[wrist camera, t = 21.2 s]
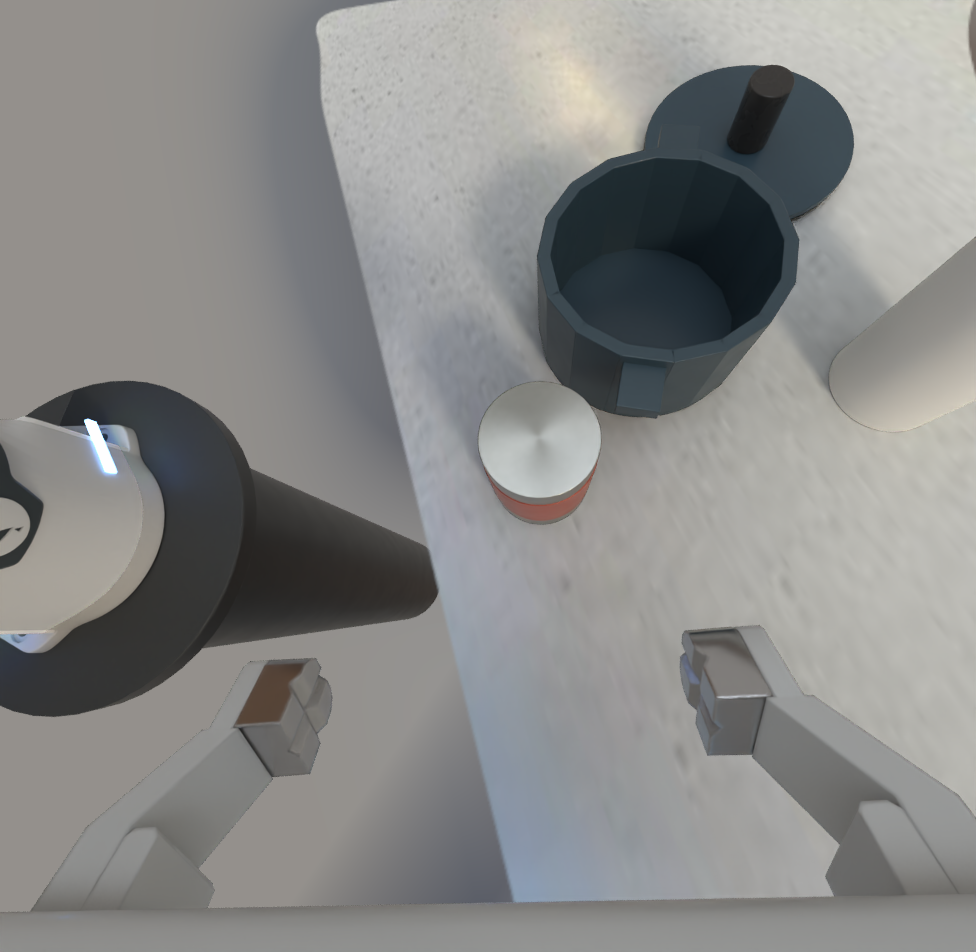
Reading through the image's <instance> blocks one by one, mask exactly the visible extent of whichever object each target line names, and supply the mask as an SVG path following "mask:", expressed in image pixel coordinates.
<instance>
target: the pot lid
mask: <svg viewBox="0 0 976 952" xmlns="http://www.w3.org/2000/svg"><path fill="white" fill-rule="evenodd" d="M663 124H667V125H686V126H700V133H699V140H698V147H697V150H703V151H707V152H709V153H712V154H714V155H717V156H719V157H722V158H724V159H727V160H729V161H732V162H734V163H737V164H739V165H742V166H744V167H747V168H748V169H750V170H751V171H752V172H753V173H754V174H755V175H756V176H757V177H758V178H760V179H761V180H762V181H763V182H764V183H765V184H766V185H767V186H768V187H770V188H771V189H772V190H773V191H774V192H775V193H776V194H777V195H778V196H779V197H781V199H782V201H783V203H784V205H785V208H786V210H787V212H788V215H789V217H790V219H792V218H794V217H797V216H799V215H801V214H804V213H805V212H807V211H809V210H811V209H812V208H814V207H816V206H817V205H818V204H820V203H821V202H822V201H824V200H825V199H826V198H827V197H828V196H829V195H830V194H831V193H832V192H833V191H834V190H835V188H836V187H837V186H838V184H839V183H840V182H841V180H842V179H843V177H844V176H845V174H846V172H847V170H848V168H849V165H850V162H851V159H852V155H853V148H854V138H853V131H852V127H851V123H850V121H849V119H848V116H847V114H846V113H845V111H844V109H843V108H842V106H841V105H840V104H839V102H838V101H837V100H836V99H835V98H834V97H833V96H832V95H831V94H830V93H829V92H828V91H827V90H826V89H824V88H823V87H821V86H820V85H818V84H817V83H816V82H814V81H812V80H810V79H808V78H806V77H804V76H802V75H799V74H796V73H794V72H791V71H790V70H788V69H787V68H785V67H782V66H778V65H767V66H756V65H747V66H734V67H727V68H722V69H717V70H714V71H710V72H707V73H704V74H702V75H699V76H697V77H695V78H693V79H691V80H689V81H687V82H685V83H684V84H682V85H681V86H679V87H678V88H677V89H675V90H674V91H673V92H671V93H670V94H669V95H668V96H667V97H666V98H665V99H664V100H663V102H662V103H661V104H660V105H659V106H658V108H657V109H656V111H655V113H654V114H653V116H652V118H651V120H650V123H649V125H648V129H647V133H646V137H645V145H644V150H647V149H651V148H656V147H657V146H658V140H659V135H660V131H661V127H662V125H663Z"/></svg>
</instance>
